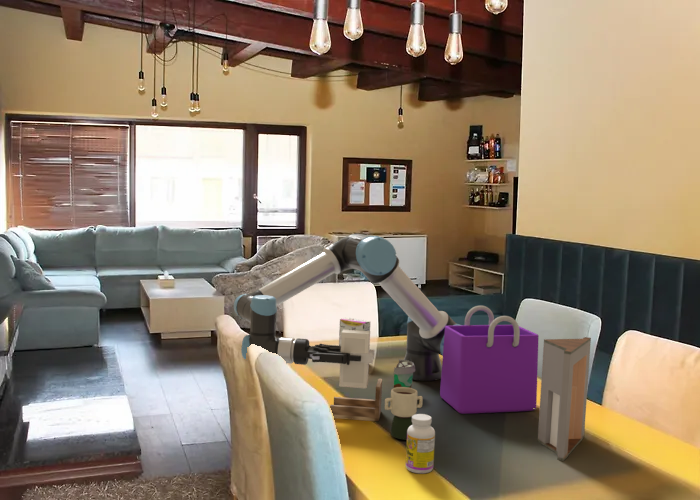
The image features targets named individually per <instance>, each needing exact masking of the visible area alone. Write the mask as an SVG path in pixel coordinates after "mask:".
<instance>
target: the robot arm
mask: <svg viewBox="0 0 700 500" xmlns="http://www.w3.org/2000/svg"><path fill="white" fill-rule="evenodd" d="M396 254H397V252H396V248H395V247H394V245H393V243H392V242H390V241H389V240H388V239H385V238H384V237H381V236H379V235H370V234H369V235H368V234H364V233H352V234H349V235H345V236H344V237H342V238H340V239H337V240H336V241H335V242H333V243H331V244H330V245H328V246H326V247H324V248H323V249H322V252H321V253H320V254H318V255H317V256H314V257H313V258H311V259H309V260H307V261H306V262H304V263H302V264H300V265H298V266H297V267H295V268H294V269H292V270H290V271H288V272H286V273H284V274H283V275H281V276H279V277H278V278H276V279H274V280H272V281H271V282H269V283H267V284H266V285H264V286H262V287H260V288H259V289H256V290H255V291H253V292H251V293H244V294H240V295H238V296H237V297H236V298H235V299H234V303H233V310H234V313H235V314H236V315H237V316H238V317H239V318H241V320H245V321H246V322H249V323H250V324H249V325H250V331H249V334H245V335H244V336H243V339H242V342H241V349H240V350H241V356H242V358H243V359H244V360H245V359H246V353H247V347H249V346H250V345H251V344H255V345H257V346H261V347H262V348H264V349H266V350H268V351H269V352H272V353H276V354H278V355H279V356H281V357H282V358H283V359H284V360H285V361H286V364H290V365H291V364H292V365H293V363H294V364H295V365H301V366H302V365H303V366H306V365H307V364H308V363H309V359H310V360H311V363H329V364H330V363H332V364H340V363H342V364H346V363H347V365H349V363H350V362H357V363H369V364H373V363H374V360H375V349H370V350H369V353H355V352H351V353H343V352H341V346H339V344H338V345H336V344H327V343H326V344H325V343H319V344H314V345H311V344H310V341H309V339H307V338H296V339H295V338H294V337H280V336H276V332H277V331H276V330H277V329H276V328H277V311H278V307H277V306H279V305H281V304H283V303H284V302H287V301H289V299H292V298H294V297H295V296H297V295H299V294H300V293H302V292H304V291H305V290H307V289H309V288H311V287H312V286H314V285H316V284H317V283H319V282H321V281H323V280H324V279H326V278H328V277H329V276H331V275H333V274H336V275H339V274H341V273H343V272H345V271H348V270H356V271H360V272H361V273H362V274H363V276H364V277H365V278H367V280H368V281H369V282H370V283H371V284H374V285H379V286H381V288H382V290H384V291H385V292H386V294H387V295H389V296H390V297H391V299H392V300H393V301H394V302H395V303H396V304H397V305H398V306H399V307H400V309H401V310H402V311H403V312H404V313H405V314H406V315H407V322H406V325H407V327H406V352H405V356H404V358H403V360H408V361H411V362H413V363H414V366H415V372H413V378H412V381H413V380H414V381H422V382H425V381H426V382H428V381H439V380H441V374H442V362H441V358H440V356H442V357H443V347H444V334H445V326H455V325H461V324H459V323H456V322H455V321H454V320H453V319H452V317H451V316H450V315H449V314H448V313H447V312H446V311H445V310H444V311H443V310H438V309H437V307H436V306H435V305H434V304H433V302H431V301H430V300H429V299H428V297H427V296H426V295H425V294H424V293H423V292H422V291H421V289H420V288H419V287H418V286H417V284H415V283H414V281H413V280H412V279H411V278H410V277H409V276H408V275H407V273H405V271H404V270H403V268H401V266H400V259H399V257H398V256H397V255H396Z"/></svg>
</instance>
